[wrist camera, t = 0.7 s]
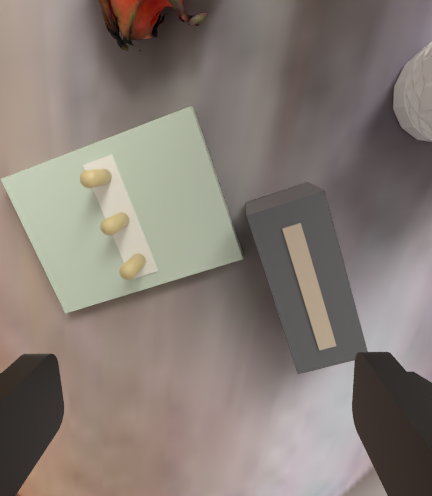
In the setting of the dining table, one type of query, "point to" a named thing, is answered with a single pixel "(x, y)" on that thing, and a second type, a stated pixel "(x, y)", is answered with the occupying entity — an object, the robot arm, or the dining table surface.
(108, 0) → the dragon fruit
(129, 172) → the board
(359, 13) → the dining table surface
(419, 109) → the white cup
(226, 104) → the dining table surface
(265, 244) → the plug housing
